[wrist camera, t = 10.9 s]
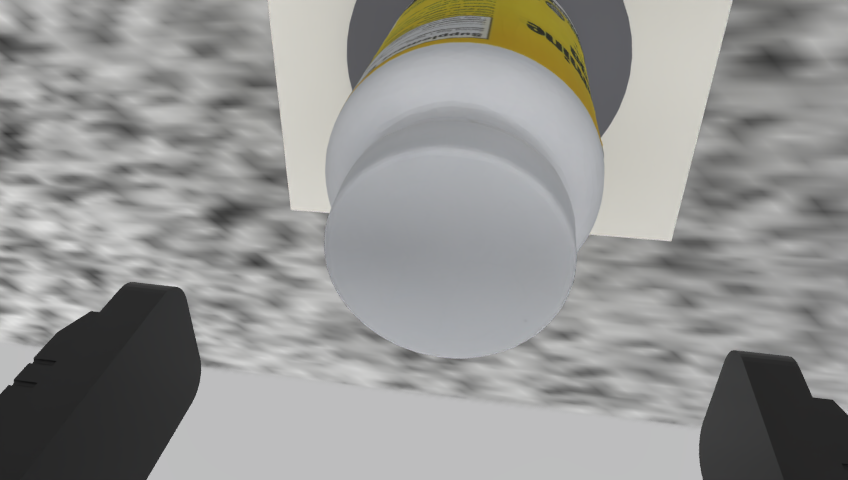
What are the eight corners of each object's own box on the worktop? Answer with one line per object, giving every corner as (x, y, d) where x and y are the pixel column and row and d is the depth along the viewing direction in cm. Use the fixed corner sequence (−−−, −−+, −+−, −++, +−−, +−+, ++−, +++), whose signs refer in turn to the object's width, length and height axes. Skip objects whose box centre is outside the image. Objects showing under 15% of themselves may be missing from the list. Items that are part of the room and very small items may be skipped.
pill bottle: (601, 130, 22) (649, 366, 13) (424, 174, 24) (355, 408, 15) (558, -66, 19) (583, 60, 10) (359, 0, 21) (223, 159, 12)
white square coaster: (764, -147, 18) (770, -146, 17) (668, 233, 24) (671, 242, 24) (255, -158, 19) (248, -157, 19) (294, 203, 26) (290, 211, 25)
